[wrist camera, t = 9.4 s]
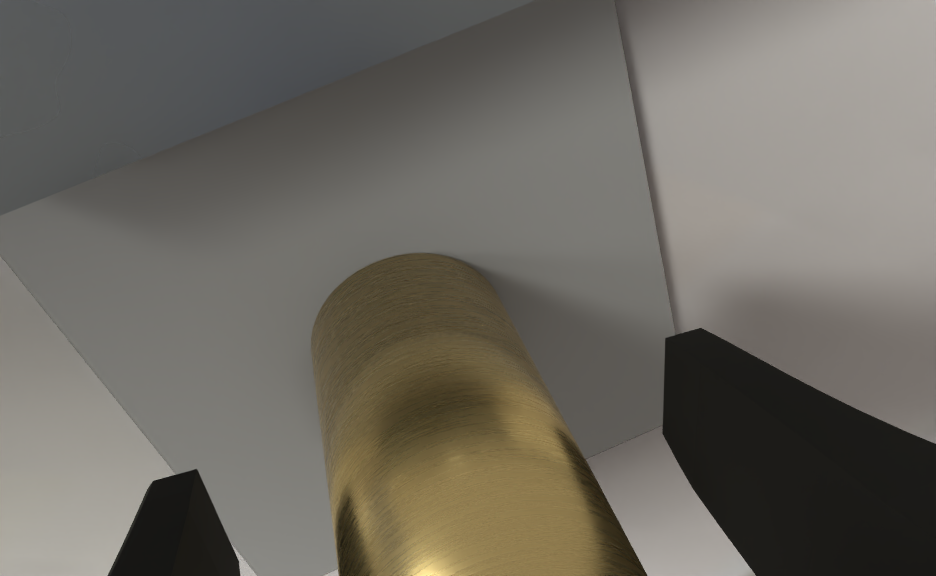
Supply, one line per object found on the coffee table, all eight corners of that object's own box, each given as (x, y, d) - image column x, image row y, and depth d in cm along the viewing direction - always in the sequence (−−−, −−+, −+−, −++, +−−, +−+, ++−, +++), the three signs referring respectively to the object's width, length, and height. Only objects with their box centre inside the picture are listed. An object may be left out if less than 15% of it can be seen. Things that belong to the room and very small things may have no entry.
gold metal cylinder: (519, 381, 15) (690, 727, 9) (345, 440, 15) (409, 836, 9) (484, 227, 13) (670, 545, 7) (281, 291, 13) (311, 676, 7)
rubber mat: (273, 581, 17) (274, 596, 17) (-23, 206, 11) (-29, 218, 11) (681, 401, 18) (690, 412, 17) (596, -42, 12) (607, -37, 12)
